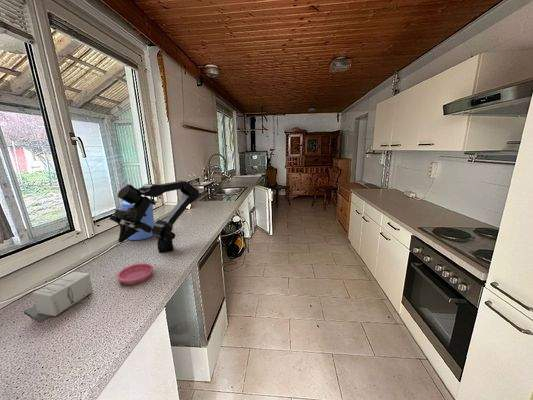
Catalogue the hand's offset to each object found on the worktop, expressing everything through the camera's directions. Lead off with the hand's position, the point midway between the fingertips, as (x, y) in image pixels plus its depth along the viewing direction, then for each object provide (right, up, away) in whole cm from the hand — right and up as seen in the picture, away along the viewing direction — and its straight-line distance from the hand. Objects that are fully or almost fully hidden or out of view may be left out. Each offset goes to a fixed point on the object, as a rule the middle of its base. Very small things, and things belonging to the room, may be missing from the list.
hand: (119, 242), depth 92 cm
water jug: (-13, -3, +39) cm, 41 cm away
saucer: (+9, -14, -3) cm, 17 cm away
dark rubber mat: (-9, -17, -18) cm, 27 cm away
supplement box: (-5, -11, -12) cm, 17 cm away
